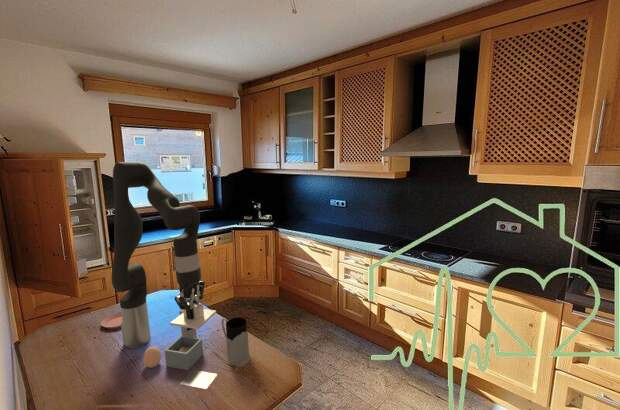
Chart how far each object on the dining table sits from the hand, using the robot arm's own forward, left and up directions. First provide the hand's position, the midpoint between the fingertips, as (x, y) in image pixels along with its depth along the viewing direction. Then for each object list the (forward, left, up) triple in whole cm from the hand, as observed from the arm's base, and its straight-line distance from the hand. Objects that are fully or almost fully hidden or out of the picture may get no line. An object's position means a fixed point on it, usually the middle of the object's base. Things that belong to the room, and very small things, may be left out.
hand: (193, 316), depth 102 cm
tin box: (-10, +6, -23) cm, 26 cm away
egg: (-20, +1, -23) cm, 31 cm away
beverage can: (-16, +17, -23) cm, 33 cm away
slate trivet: (+1, -1, -23) cm, 23 cm away
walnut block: (-10, +6, -23) cm, 26 cm away
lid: (0, 0, -1) cm, 1 cm away
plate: (-58, +23, -24) cm, 67 cm away
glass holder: (+7, +13, -23) cm, 28 cm away
